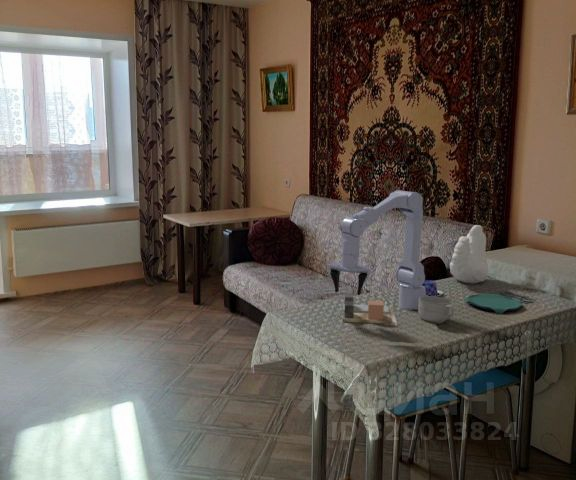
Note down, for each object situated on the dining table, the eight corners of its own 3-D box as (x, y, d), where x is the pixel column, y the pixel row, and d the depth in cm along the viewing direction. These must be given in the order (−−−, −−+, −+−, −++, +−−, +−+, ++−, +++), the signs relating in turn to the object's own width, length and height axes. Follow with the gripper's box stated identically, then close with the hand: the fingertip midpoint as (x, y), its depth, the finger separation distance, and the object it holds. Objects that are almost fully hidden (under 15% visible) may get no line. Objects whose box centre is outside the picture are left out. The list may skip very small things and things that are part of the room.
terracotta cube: (382, 314, 200) (382, 300, 199) (383, 319, 195) (383, 305, 194) (367, 314, 200) (368, 300, 200) (368, 318, 196) (368, 304, 195)
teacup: (411, 318, 204) (412, 296, 202) (437, 314, 207) (438, 293, 206) (434, 330, 191) (436, 307, 189) (462, 327, 195) (463, 304, 193)
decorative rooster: (466, 274, 266) (470, 221, 262) (496, 281, 254) (500, 225, 249) (430, 282, 252) (433, 226, 247) (460, 290, 239) (464, 231, 235)
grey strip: (387, 308, 211) (387, 294, 210) (388, 314, 204) (389, 299, 203) (343, 306, 212) (343, 292, 211) (343, 312, 205) (343, 297, 204)
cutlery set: (455, 303, 222) (455, 297, 221) (502, 292, 239) (502, 287, 238) (500, 318, 206) (501, 311, 205) (547, 305, 223) (548, 299, 223)
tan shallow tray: (389, 317, 201) (389, 302, 200) (390, 323, 194) (391, 308, 193) (343, 315, 202) (343, 300, 201) (342, 321, 196) (343, 306, 195)
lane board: (392, 310, 212) (392, 307, 212) (396, 328, 193) (397, 325, 192) (343, 308, 214) (343, 305, 214) (342, 326, 194) (342, 323, 194)
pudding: (411, 296, 231) (411, 283, 230) (413, 288, 242) (414, 276, 241) (442, 299, 228) (442, 286, 227) (443, 291, 239) (444, 279, 238)
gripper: (326, 253, 192) (324, 293, 195) (369, 257, 188) (366, 298, 190) (331, 250, 199) (329, 288, 201) (373, 254, 195) (370, 293, 197)
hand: (347, 293), depth 196 cm, fingers open, 7 cm apart
